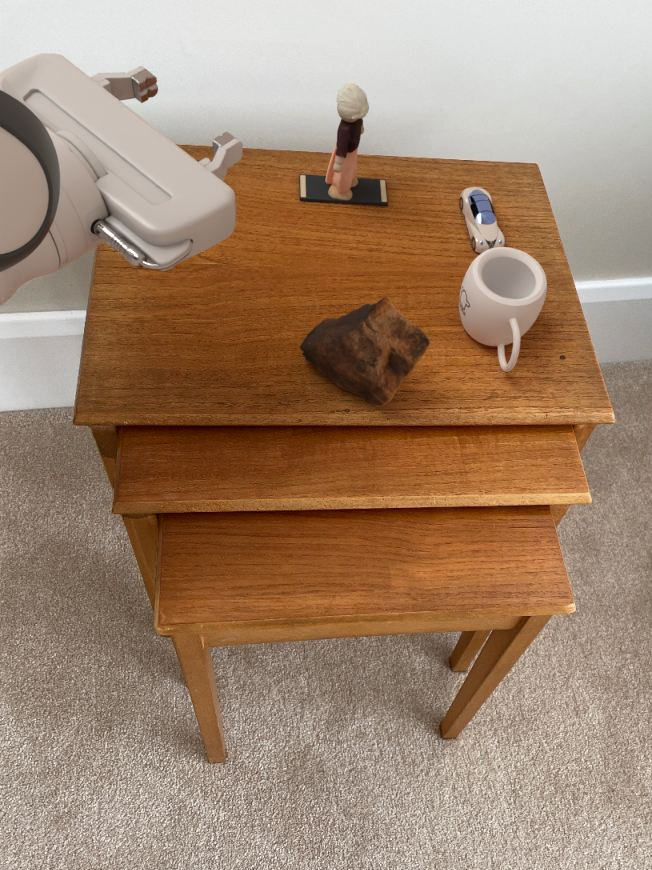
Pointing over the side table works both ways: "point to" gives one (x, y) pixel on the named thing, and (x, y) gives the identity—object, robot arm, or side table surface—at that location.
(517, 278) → the mug
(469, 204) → the toy car
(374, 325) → the decorative rock
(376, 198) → the black flat block
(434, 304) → the side table surface
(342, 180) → the grandmother figurine
